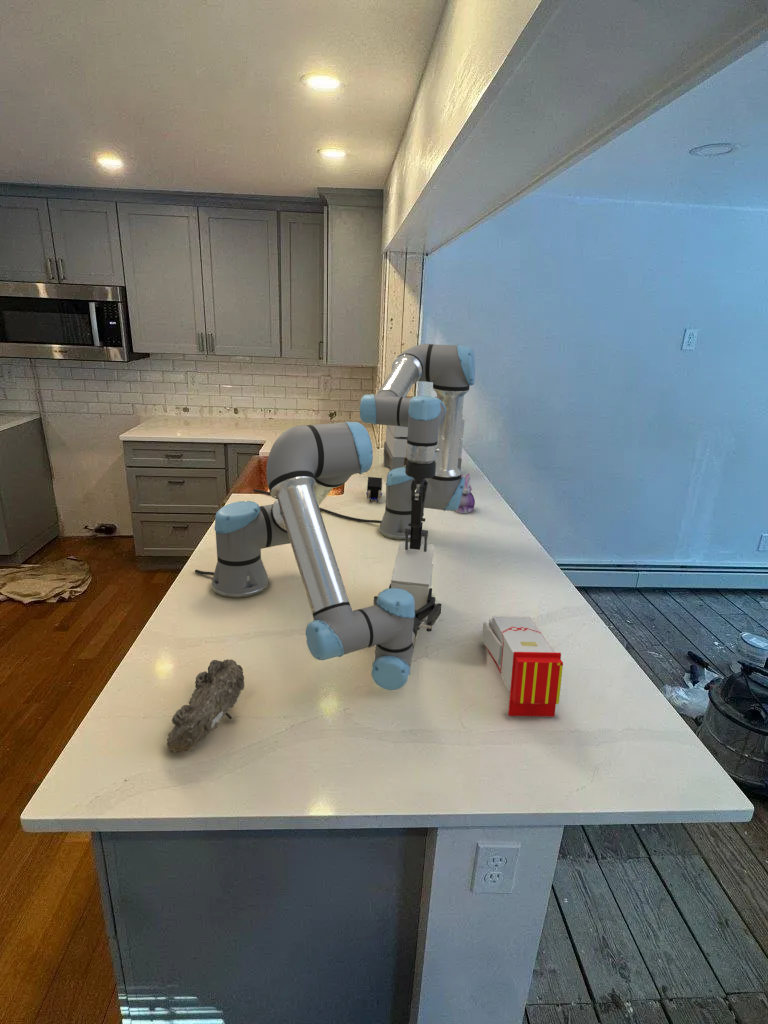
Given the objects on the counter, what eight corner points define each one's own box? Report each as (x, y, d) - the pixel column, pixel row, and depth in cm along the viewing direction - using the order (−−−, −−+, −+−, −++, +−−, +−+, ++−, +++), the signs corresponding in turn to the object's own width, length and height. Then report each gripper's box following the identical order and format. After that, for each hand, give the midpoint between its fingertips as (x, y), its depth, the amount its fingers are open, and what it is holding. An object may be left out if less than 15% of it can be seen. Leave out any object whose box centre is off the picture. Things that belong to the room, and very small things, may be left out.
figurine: (461, 515, 220) (465, 478, 215) (447, 507, 229) (450, 471, 224) (481, 512, 224) (485, 476, 219) (466, 504, 233) (469, 469, 228)
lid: (399, 543, 154) (399, 521, 150) (434, 547, 153) (435, 525, 148) (391, 582, 143) (391, 560, 138) (428, 586, 142) (430, 564, 137)
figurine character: (382, 507, 229) (381, 492, 243) (383, 490, 226) (382, 475, 239) (365, 506, 229) (366, 491, 242) (366, 489, 226) (366, 475, 239)
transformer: (382, 463, 289) (386, 382, 275) (445, 464, 293) (451, 384, 279) (390, 482, 257) (394, 392, 243) (460, 483, 261) (468, 394, 247)
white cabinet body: (396, 591, 159) (398, 560, 156) (430, 595, 158) (433, 564, 155) (389, 616, 146) (391, 583, 143) (426, 620, 145) (428, 587, 142)
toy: (528, 601, 136) (572, 659, 107) (523, 653, 139) (565, 722, 110) (478, 600, 136) (508, 657, 107) (474, 652, 139) (503, 722, 109)
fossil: (192, 660, 117) (244, 628, 112) (224, 691, 120) (276, 661, 115) (142, 746, 98) (202, 712, 93) (182, 779, 101) (242, 748, 96)
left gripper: (350, 644, 129) (368, 598, 150) (447, 657, 126) (452, 608, 147) (351, 615, 126) (369, 572, 147) (450, 627, 123) (454, 582, 144)
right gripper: (433, 469, 133) (427, 560, 141) (438, 454, 147) (431, 537, 155) (402, 466, 134) (397, 556, 142) (409, 451, 148) (404, 535, 156)
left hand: (410, 590), depth 147 cm, fingers closed on white cabinet body, 9 cm apart
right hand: (415, 546), depth 149 cm, fingers closed on lid, 2 cm apart
